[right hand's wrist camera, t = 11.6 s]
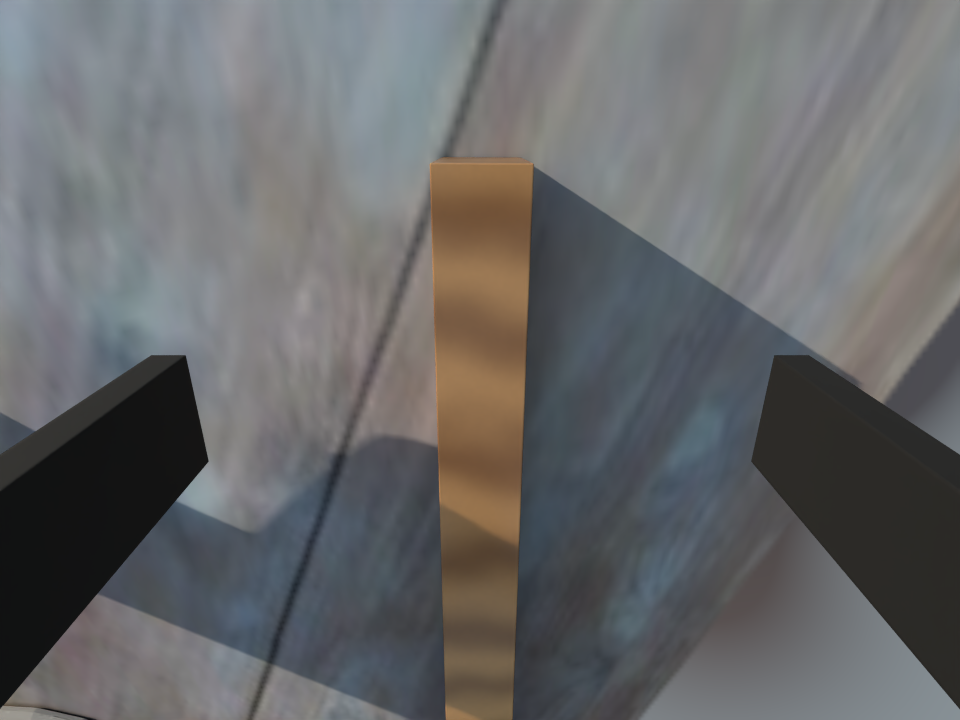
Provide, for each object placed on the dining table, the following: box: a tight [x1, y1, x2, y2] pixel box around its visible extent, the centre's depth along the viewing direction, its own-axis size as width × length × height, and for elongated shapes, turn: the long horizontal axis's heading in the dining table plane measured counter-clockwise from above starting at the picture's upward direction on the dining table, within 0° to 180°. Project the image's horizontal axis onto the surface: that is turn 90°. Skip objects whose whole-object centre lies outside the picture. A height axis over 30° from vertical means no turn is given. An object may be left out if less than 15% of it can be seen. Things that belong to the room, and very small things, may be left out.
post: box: [430, 157, 534, 720], centre depth 37 cm, size 53×4×8 cm, turn 0°
